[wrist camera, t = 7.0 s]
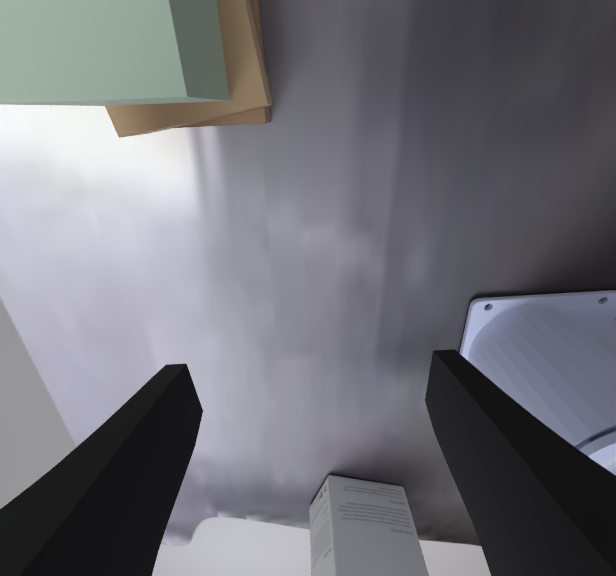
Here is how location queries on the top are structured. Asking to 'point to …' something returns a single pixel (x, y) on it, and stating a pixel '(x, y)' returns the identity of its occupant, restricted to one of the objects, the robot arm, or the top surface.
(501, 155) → the top surface
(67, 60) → the block
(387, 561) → the skincare box
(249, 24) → the tower top
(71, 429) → the top surface
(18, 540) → the robot arm
